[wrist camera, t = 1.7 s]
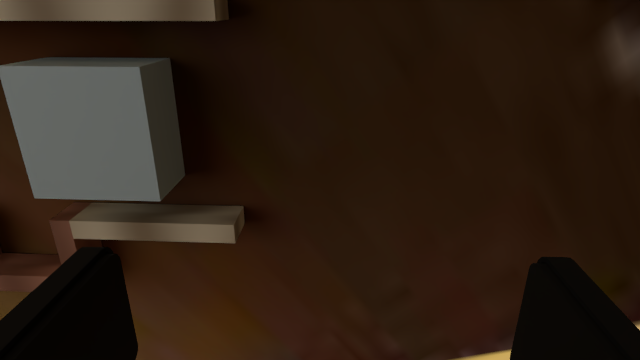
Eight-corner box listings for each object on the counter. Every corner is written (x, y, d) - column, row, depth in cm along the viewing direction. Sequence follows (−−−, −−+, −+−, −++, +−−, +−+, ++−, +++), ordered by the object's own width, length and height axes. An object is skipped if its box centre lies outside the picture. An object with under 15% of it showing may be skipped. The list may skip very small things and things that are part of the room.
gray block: (171, 57, 24) (139, 67, 20) (186, 173, 26) (160, 201, 23) (50, 56, 24) (-4, 65, 20) (77, 171, 27) (34, 198, 23)
